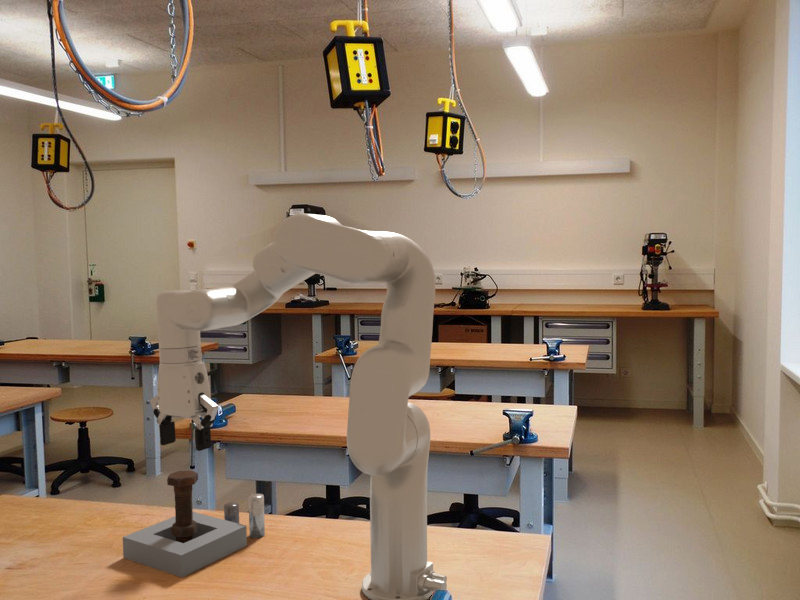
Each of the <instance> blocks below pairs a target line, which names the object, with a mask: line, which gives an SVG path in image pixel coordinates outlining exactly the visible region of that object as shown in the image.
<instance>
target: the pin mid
mask: <svg viewBox="0 0 800 600" xmlns="http://www.w3.org/2000/svg"><path fill="white" fill-rule="evenodd" d="M248 518H249V519H248V524H249V527H248V528H249V529H248V530H249V538H251V537H252V539H260V538H263V537H264V536H266V535H265V534H266V533H265V532H266V530H265V528H266V527H265V525H266V524H265V496H264V494H263V493H253V494H249V496H248Z"/></svg>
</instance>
